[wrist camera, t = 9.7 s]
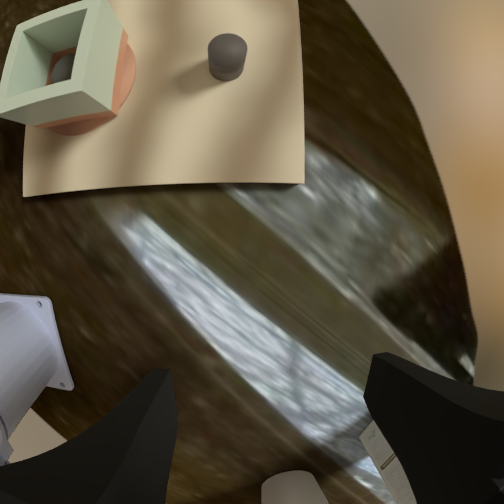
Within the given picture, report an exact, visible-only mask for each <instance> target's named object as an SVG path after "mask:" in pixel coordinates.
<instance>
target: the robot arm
mask: <svg viewBox="0 0 504 504" xmlns="http://www.w3.org/2000/svg"><path fill="white" fill-rule="evenodd" d="M39 301H40V302H41V304H42V306H41V305H40V303H39ZM46 386H48V387H53V388H58V389H63V390H69V391H71V390H72V389H73V388H74V383H73V380H72V377H71V374H70V371H69V368H68V365H67V362H66V359H65V355H64V352H63V348H62V345H61V341H60V337H59V333H58V329H57V325H56V321H55V316H54V312H53V307H52V303H51V300H50V299H49V298H48V297H46V296H30V295H16V294H2V293H0V504H165V502H166V490H167V484H168V478H169V473H170V468H171V462H172V457H173V452H174V447H175V441H176V435H177V419H178V411H177V406H176V401H175V395H174V390H173V384H172V378H171V371H170V369H152V370H151V371H150V372H149V373H148V374H147V375H146V376H145V377H144V378H143V379H142V381H141V382H140V383H139V384H138V385H137V386H136V387H135V388H134V389H133V390H132V391H131V392H130V393H129V394H128V395H127V396H126V397H125V398H124V399H123V400H122V401H121V402H120V403H119V404H118V405H117V406H116V407H115V408H113V409H112V410H111V411H110V412H109V413H108V414H107V415H105V416H104V417H103V418H102V419H101V420H99V421H98V422H97V423H95V424H94V425H93V426H91V427H90V428H88V429H87V430H85V431H84V432H83V433H81V434H79V435H78V436H76V437H74V438H73V439H71V440H69V441H67V442H65V443H63V444H61V445H60V446H58V447H56V448H54V449H52V450H49V451H47V452H45V453H42V454H40V455H37V456H34V457H32V458H29V459H26V460H23V461H19V462H15V463H11V464H10V463H9V462H8V459H9V457H10V455H11V454H12V452H13V448H12V447H11V445H10V444H9V442H8V439H9V437H10V436H11V434H12V433H13V431H14V430H15V428H16V427H17V426H18V424H19V423H20V421H21V420H22V418H23V417H24V415H25V414H26V413H27V411H28V410H29V408H30V407H31V406H32V404H33V403H34V402H35V400H36V399H37V397H38V396H39V395H40V393H41V392H42V391H43V389H44V388H45V387H46ZM363 398H364V400H365V402H366V405H367V407H368V410H369V412H370V414H371V416H372V418H373V420H374V422H375V423H376V425H377V426H378V428H379V430H380V431H381V433H382V434H383V436H384V437H385V439H386V441H387V442H388V444H389V445H390V447H391V448H392V450H393V452H394V453H395V455H396V456H397V458H398V460H399V462H400V463H401V465H402V468H403V470H404V472H405V474H406V476H407V479H408V481H409V483H410V486H411V489H412V491H413V494H414V497H415V499H416V502H417V504H504V392H503V391H496V390H489V389H484V388H480V387H475V386H472V385H468V384H464V383H461V382H458V381H455V380H453V379H450V378H447V377H444V376H442V375H439V374H437V373H435V372H432V371H430V370H428V369H425V368H423V367H421V366H419V365H416V364H414V363H412V362H410V361H408V360H405V359H403V358H401V357H398V356H396V355H393V354H391V353H388V352H385V353H379V354H374V355H373V358H372V362H371V367H370V371H369V375H368V380H367V384H366V388H365V392H364V396H363Z"/></svg>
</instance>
